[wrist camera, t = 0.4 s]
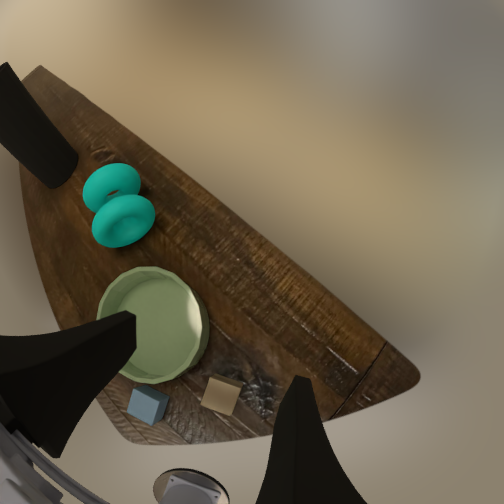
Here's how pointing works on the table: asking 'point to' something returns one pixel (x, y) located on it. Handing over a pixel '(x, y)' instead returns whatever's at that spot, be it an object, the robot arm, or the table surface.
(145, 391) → the blue block
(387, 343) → the table surface
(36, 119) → the vase
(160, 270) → the green shallow bowl
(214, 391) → the brown block
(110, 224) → the donuts
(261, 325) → the table surface
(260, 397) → the table surface
